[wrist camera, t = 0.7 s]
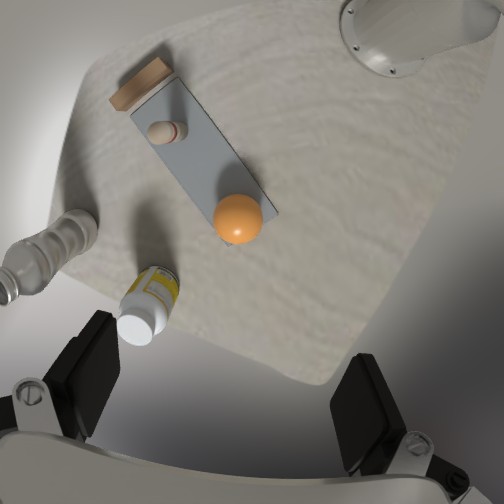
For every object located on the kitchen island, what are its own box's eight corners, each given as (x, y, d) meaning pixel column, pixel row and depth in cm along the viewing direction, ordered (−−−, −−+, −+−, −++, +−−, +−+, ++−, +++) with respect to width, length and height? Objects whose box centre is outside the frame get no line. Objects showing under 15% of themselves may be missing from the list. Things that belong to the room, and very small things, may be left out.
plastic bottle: (63, 208, 39) (-29, 262, 21) (98, 202, 39) (5, 260, 20) (72, 247, 42) (-8, 316, 23) (107, 244, 41) (28, 321, 23)
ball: (245, 180, 38) (242, 189, 32) (271, 218, 39) (274, 233, 34) (207, 206, 39) (198, 220, 33) (234, 242, 41) (230, 261, 35)
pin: (181, 118, 34) (160, 115, 27) (193, 133, 35) (175, 134, 27) (166, 130, 35) (142, 131, 27) (177, 145, 36) (155, 150, 28)
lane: (178, 77, 32) (177, 77, 32) (278, 214, 39) (278, 214, 39) (130, 116, 34) (129, 116, 34) (228, 246, 41) (228, 247, 41)
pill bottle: (137, 295, 44) (108, 341, 34) (142, 258, 42) (109, 300, 31) (176, 307, 45) (156, 358, 34) (184, 271, 43) (162, 318, 32)
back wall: (165, 61, 31) (158, 56, 29) (173, 71, 32) (166, 67, 29) (118, 100, 33) (108, 99, 31) (126, 111, 34) (116, 110, 31)
